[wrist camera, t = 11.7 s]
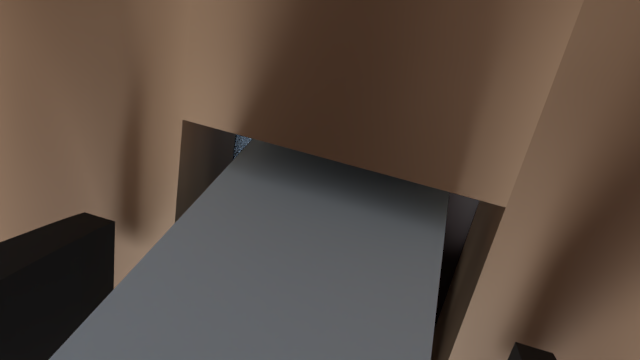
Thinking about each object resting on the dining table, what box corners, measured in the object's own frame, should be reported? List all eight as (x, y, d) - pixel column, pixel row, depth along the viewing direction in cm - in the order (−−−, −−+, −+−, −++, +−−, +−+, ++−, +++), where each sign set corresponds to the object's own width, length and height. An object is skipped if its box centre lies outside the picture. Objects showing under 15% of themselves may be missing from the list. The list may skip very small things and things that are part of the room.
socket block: (840, -28, 10) (970, 3, 7) (541, 506, 16) (552, 623, 14) (64, -186, 12) (-58, -208, 9) (73, 349, 18) (4, 426, 16)
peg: (452, 163, 13) (416, 494, 6) (405, 308, 15) (334, 689, 8) (275, 115, 13) (44, 365, 6) (250, 260, 15) (52, 577, 8)
